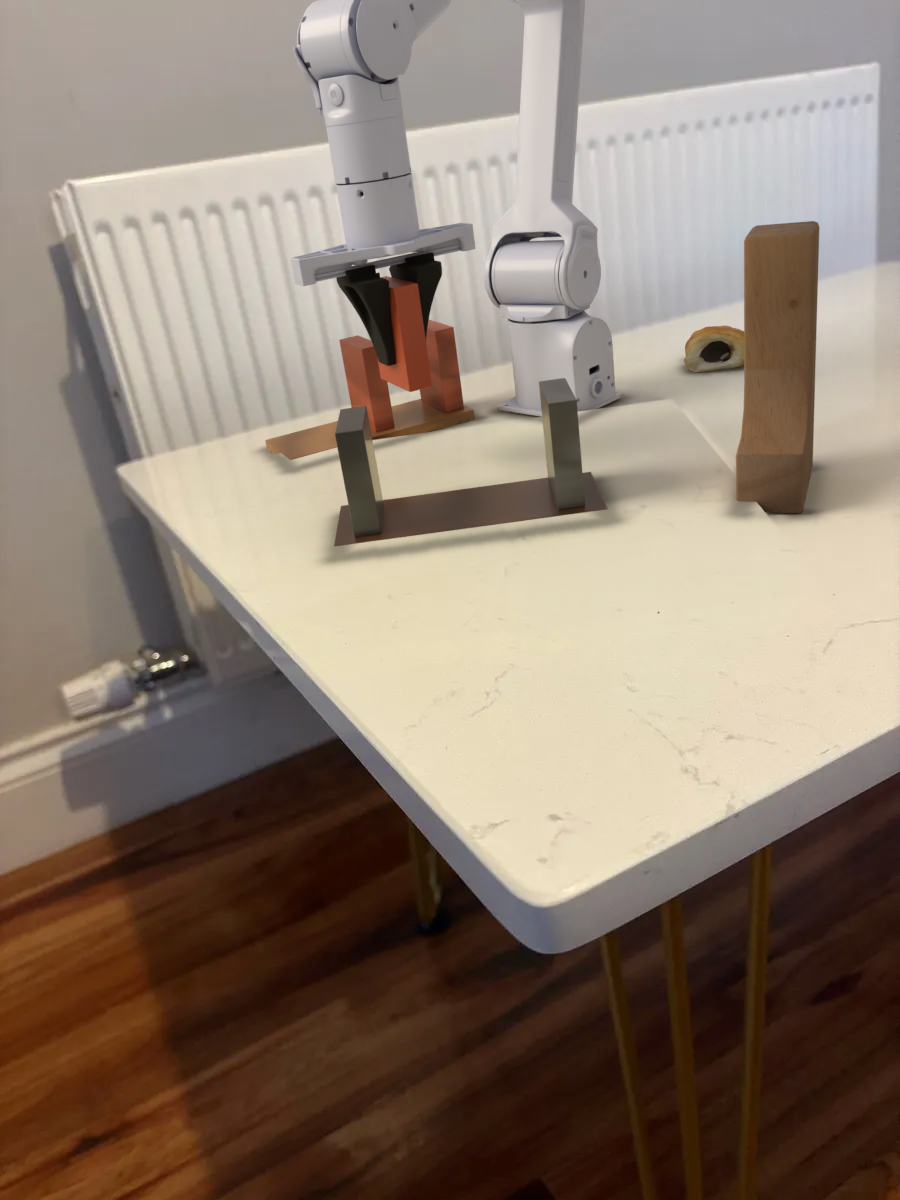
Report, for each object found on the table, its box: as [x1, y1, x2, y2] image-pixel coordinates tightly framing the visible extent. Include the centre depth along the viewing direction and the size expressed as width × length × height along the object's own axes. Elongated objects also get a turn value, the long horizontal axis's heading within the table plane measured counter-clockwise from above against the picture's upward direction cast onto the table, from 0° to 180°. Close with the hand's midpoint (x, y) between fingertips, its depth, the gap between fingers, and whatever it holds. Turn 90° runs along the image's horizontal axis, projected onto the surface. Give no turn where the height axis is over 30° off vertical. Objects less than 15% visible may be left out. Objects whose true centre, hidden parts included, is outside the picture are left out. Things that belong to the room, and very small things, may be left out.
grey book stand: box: [333, 378, 608, 547], centre depth 76 cm, size 20×8×9 cm, turn 92°
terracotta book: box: [377, 275, 432, 393], centre depth 81 cm, size 2×6×8 cm, turn 26°
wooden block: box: [735, 220, 820, 514], centre depth 71 cm, size 9×4×18 cm, turn 159°
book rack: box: [264, 319, 475, 461], centre depth 99 cm, size 19×8×9 cm, turn 116°
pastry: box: [683, 325, 744, 373], centre depth 107 cm, size 9×7×4 cm
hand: (401, 359), depth 82 cm, fingers closed on terracotta book, 2 cm apart
